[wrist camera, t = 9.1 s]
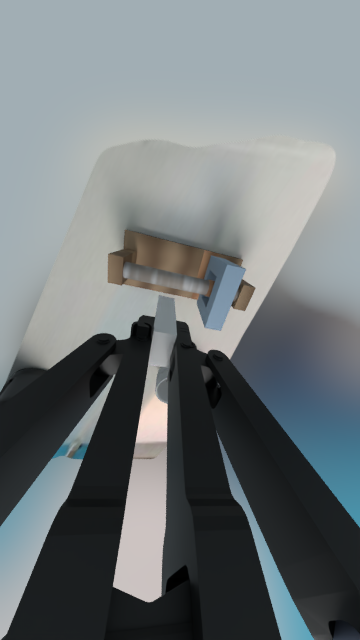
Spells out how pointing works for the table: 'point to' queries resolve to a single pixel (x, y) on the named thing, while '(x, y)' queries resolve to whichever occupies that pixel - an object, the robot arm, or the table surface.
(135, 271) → the wooden rod stand
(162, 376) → the teacup
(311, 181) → the table surface
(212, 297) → the ring
